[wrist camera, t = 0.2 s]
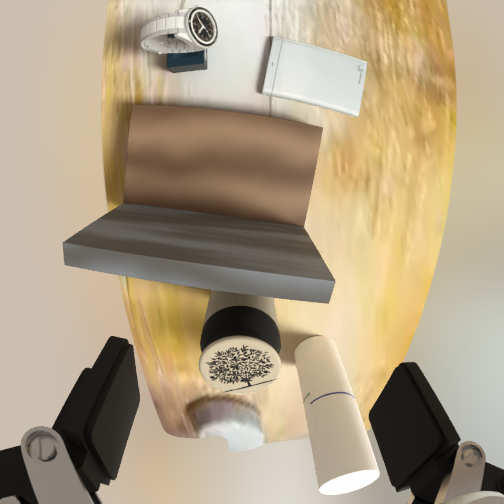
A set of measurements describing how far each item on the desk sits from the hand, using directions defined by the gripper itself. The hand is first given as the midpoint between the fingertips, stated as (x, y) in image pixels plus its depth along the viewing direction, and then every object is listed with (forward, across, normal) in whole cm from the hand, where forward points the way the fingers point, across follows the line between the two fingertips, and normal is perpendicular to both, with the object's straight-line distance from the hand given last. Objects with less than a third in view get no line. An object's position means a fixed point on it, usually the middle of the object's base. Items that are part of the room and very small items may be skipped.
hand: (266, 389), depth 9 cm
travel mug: (+31, 0, +12) cm, 33 cm away
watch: (+31, +10, -18) cm, 38 cm away
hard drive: (+31, -6, -17) cm, 36 cm away
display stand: (+31, +5, -4) cm, 31 cm away
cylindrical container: (+31, -14, +24) cm, 42 cm away
